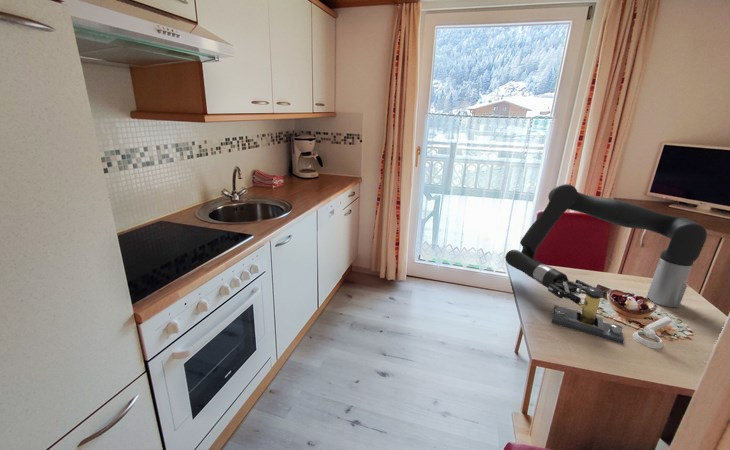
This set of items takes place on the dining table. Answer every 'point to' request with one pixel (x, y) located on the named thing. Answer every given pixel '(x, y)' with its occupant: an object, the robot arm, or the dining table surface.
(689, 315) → the dining table surface
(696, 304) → the dining table surface
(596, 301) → the pin
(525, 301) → the dining table surface
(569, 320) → the grey plate with studs
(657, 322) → the white vr controller
